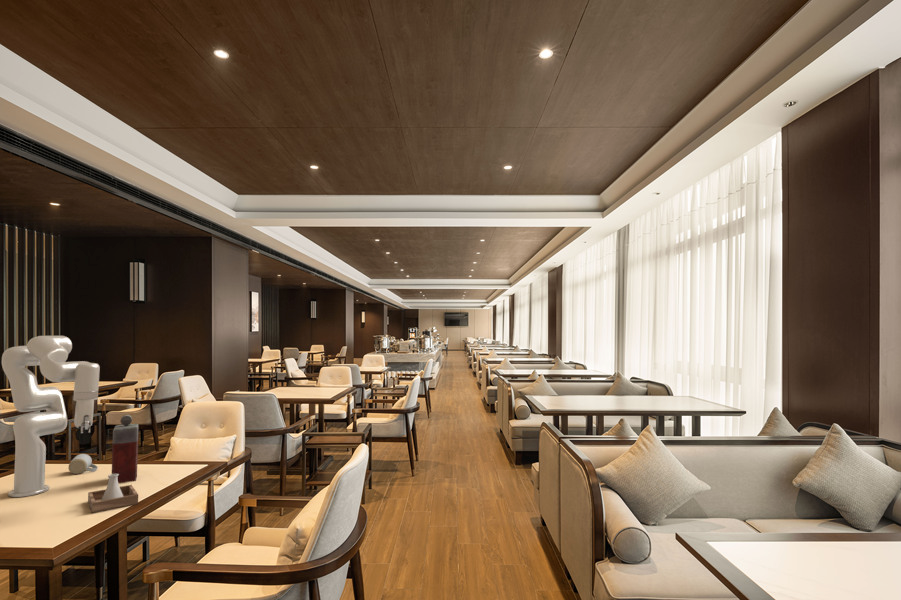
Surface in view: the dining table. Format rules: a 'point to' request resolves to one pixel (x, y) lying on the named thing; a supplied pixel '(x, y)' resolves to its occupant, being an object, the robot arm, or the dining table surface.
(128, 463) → the red decanter
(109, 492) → the flask
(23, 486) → the robot arm
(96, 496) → the box
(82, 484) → the dining table surface
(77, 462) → the ceramic mug
